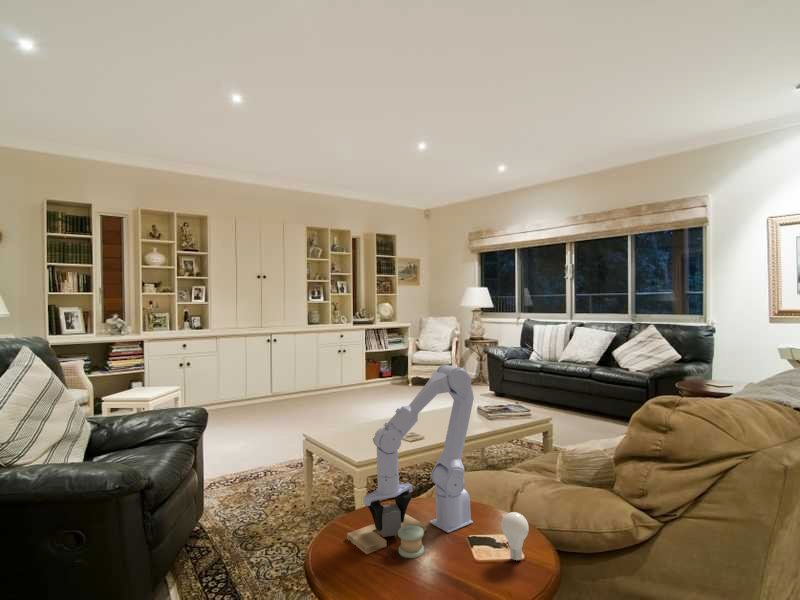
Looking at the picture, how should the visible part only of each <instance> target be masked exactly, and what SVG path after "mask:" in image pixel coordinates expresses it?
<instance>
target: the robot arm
mask: <svg viewBox="0 0 800 600" xmlns="http://www.w3.org/2000/svg"><path fill="white" fill-rule="evenodd" d="M472 378H473V377H472V376H471V375H470V374H469V373H468V371H467V370H466V369H465V368H464V367H459V366H458V367H456V366H453V365H450V364H442V365H440V366H439V367H437V369H436V370H435V371H434V372H433V373H432V374H431V376H430V377H429V380H428V381H427V382H426V383H425V385H424V386H423V387H422V388H421V389H420V391H419V392H418V393H417V394H416V396H415V397H414V399H412V401H411V402H410V403H409V405H406V406H405V405H404V406H403V405H402V406H401V407H400V408H399V407H398V408H397V409H396V410H394V412H395V414H394V415H393V416H392V417H391V418H390V419H389V420H388V422H384V424H383V427H380V428H378V429H377V430H376V432H375V434H374V436H373V438H372V442H373V444H374V445H375V446H376V473H377V474H376V475H377V489H376V490H374V491H373V492H370V493H369V494H367V495H363V505H365V506H367V508H368V510H369V512H370V513H371V516H372V519H373V522H374V523H373V524H375V527H376V529H378V530H379V531H381V530H382V514H383V509H384V507H383V504H381V502H382V501H384V500H387V499H390V498H391V499H392V498H394V501H395V504H397V506H398V508H399V509H400V511H401V523H403V522H404V517H405V514H407V509H408V506H409V504H410V502H411V500H412V495H411V494H410V493H413V484H411V483H409V482H406V483H401V484H400V478H399V477H400V476H399V475H400V473H399V455H398V454H399V453H398V449H400V448H401V445H402V439H404V437H405V436H406V435H407V434H408V433H409V432H410V431H411V429H412V428H413V427H414V426H415V424H416V423H417V422H418V420H419V413H421V411H423V410H424V408H425V407H426V406H427V405H428V404H430V402H432V401H433V399H434V398H436V396H437V395H438V394H444V393H445V394H446V393H449V395H450V396H451V398H452V399H453V403H452V407H451V412H450V418H449V421H448V426H447V431H446V435H445V440H444V445H443V449H442V450H443V451H442V454H441V455H439V456H438V458H437V459H436V463H435V465H434V467H433V468H432V470H431V473H430V477H431V481H432V483H434V484H435V491H434V492H435V493H434V494H435V513H436V514H435V516H436V518H434V519H432V520H431V519H430V521H429V523H430V524H432V526H435V527H437V528H439V529H440V530H442V531H443V532H446V533H451V532H454V531H456V530H460V529H461V528H463V527H465V526H469V525H471V524H473V523H474V521H473V520H472V517H471V516H472V515H471V499H470V495H469V493H468V491H467V490H466V489H465V485H466V480H465V467H464V465H463V462H462V461H463V460H462V456H463V452H464V449H465V444H466V443H465V442H466V438H467V432H468V429H469V423H470V418H471V413H472V408H473V403H474V399H475V398H474V391H473V387H472Z"/></svg>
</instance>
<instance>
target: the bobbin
mask: <svg viewBox="0 0 800 600" xmlns="http://www.w3.org/2000/svg"><path fill="white" fill-rule="evenodd" d="M424 534H425V532H424V531H423V529H422V528H421V527H419V526H415V525H408V526H404V527H401V528H400V529H399V530H398V535H397V536H398V538H399V539H400V545H399V546H398V554H399V556H401V557H403V558H405V559H416V558H417V559H418V558H420V557H422V555H424V554H425V545H423V543H422V538H423V537H424Z"/></svg>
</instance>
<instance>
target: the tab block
mask: <svg viewBox="0 0 800 600" xmlns="http://www.w3.org/2000/svg"><path fill="white" fill-rule="evenodd" d="M382 506H383V507H384V509H383V514H382V530H381V531H380V532H381V533H380V534H381V537H382V538H385V537H386V538H387V537H392V536H398V530H399V529H400V528H401V511H400V509H399V508H398V506H397V504H396V503H391V504H384V505H383V504H382Z"/></svg>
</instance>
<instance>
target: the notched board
mask: <svg viewBox="0 0 800 600" xmlns="http://www.w3.org/2000/svg"><path fill="white" fill-rule="evenodd" d="M408 525H415V526H419V527H421V528H422V529H423V531H424V533H425V532H426V531H427V525H426V524H424V523H423V522H421V521H419V520H418V519H416V518H414V517H413V516H410V515H409V514H407V513H405V517H404V522H403V523H401V527H404V526H408ZM379 534H381V532H380V531H379V530H378V529H376V527H375V523H373V524H369V525H367V526H364V527H361V528H358V529H355V530H351V531H350V532H349V531H348V532H347V533H346V539H347V540H348V541H349V540H350V541H351V542H350V541H349V542H350V543H352V544H353V545H354V546H355V545H356V547H357V548H358V549H360V550H361V552H363V553H365V555H368V554H372V553H374V552H376V551H378V550H382V549H383V548H387V539H385V538H384V537H383V536H382V535H381V536H380V535H379Z"/></svg>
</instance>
